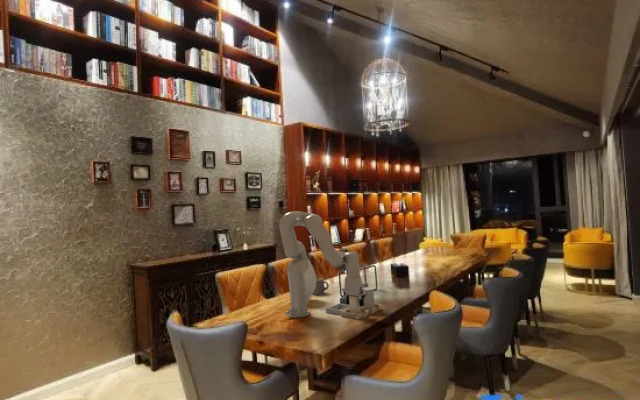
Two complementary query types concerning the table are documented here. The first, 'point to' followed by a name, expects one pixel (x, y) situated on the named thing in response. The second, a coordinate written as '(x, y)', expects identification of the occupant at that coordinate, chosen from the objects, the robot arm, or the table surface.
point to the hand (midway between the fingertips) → (355, 304)
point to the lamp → (310, 281)
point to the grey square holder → (343, 300)
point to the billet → (354, 304)
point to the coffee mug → (320, 286)
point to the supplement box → (368, 299)
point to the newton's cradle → (363, 275)
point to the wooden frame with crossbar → (363, 312)
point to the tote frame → (334, 308)
